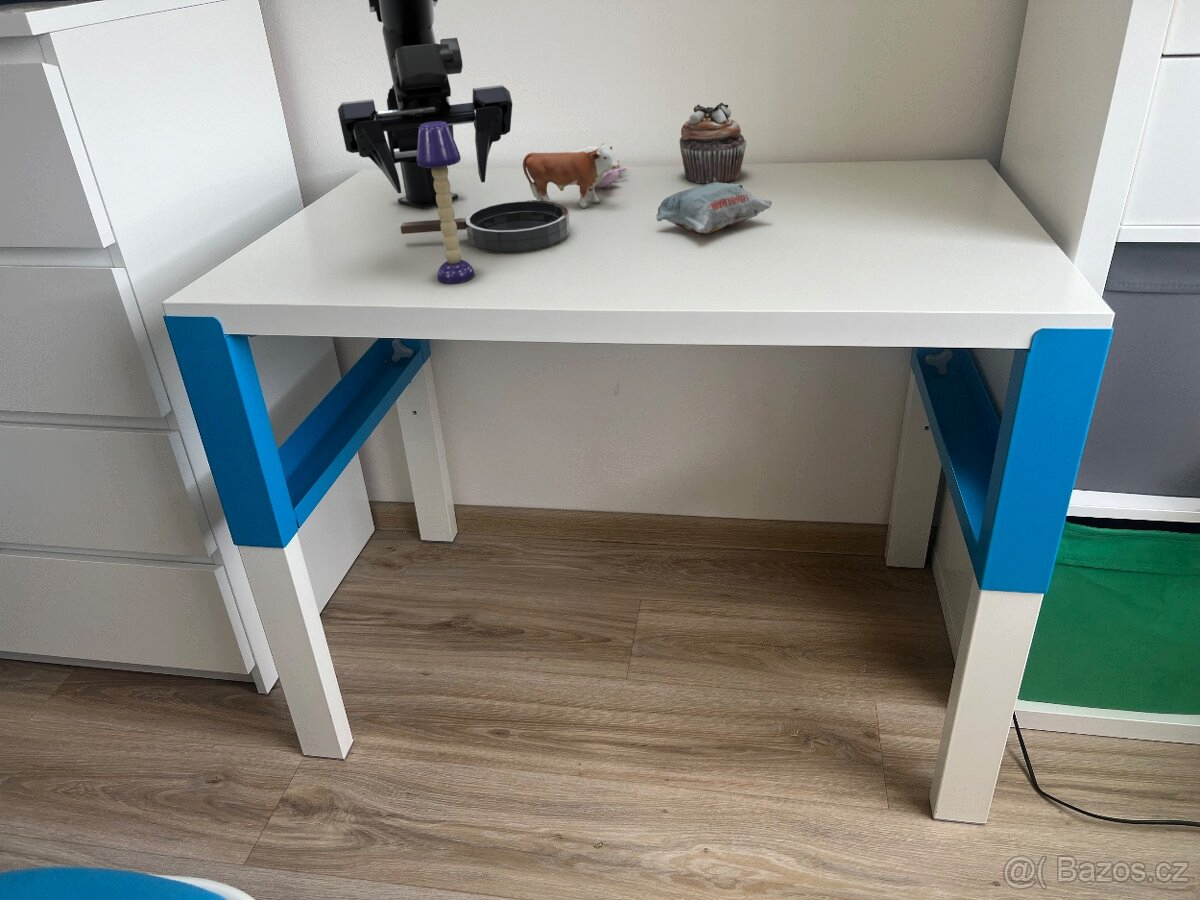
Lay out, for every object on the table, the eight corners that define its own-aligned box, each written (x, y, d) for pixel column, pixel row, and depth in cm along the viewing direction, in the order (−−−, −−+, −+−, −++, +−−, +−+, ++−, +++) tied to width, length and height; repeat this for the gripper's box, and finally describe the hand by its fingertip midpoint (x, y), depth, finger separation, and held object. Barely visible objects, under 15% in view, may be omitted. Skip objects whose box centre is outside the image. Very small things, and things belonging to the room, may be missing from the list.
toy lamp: (428, 276, 100) (402, 124, 91) (464, 265, 102) (442, 116, 94) (449, 287, 97) (424, 130, 88) (485, 276, 99) (464, 122, 90)
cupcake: (683, 187, 125) (682, 114, 119) (677, 170, 133) (676, 100, 128) (750, 183, 124) (752, 109, 119) (740, 166, 133) (742, 96, 127)
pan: (447, 242, 110) (443, 220, 109) (521, 215, 118) (518, 194, 116) (516, 261, 102) (513, 238, 101) (590, 232, 110) (589, 210, 109)
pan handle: (467, 225, 110) (465, 217, 109) (465, 229, 108) (464, 221, 108) (403, 230, 110) (402, 222, 109) (401, 234, 108) (400, 226, 108)
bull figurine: (618, 211, 117) (615, 148, 113) (523, 209, 120) (517, 148, 116) (625, 201, 121) (623, 140, 116) (533, 200, 124) (527, 140, 119)
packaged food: (770, 223, 109) (772, 183, 106) (699, 246, 103) (698, 205, 100) (722, 210, 115) (723, 172, 112) (652, 231, 109) (651, 191, 107)
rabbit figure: (591, 181, 135) (571, 193, 122) (590, 140, 133) (569, 148, 119) (631, 181, 134) (615, 192, 120) (630, 140, 132) (614, 147, 118)
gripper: (319, 20, 89) (345, 153, 86) (498, 4, 93) (530, 131, 90) (334, 90, 100) (358, 211, 97) (495, 73, 104) (523, 189, 100)
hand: (441, 185), depth 96 cm, fingers open, 9 cm apart
